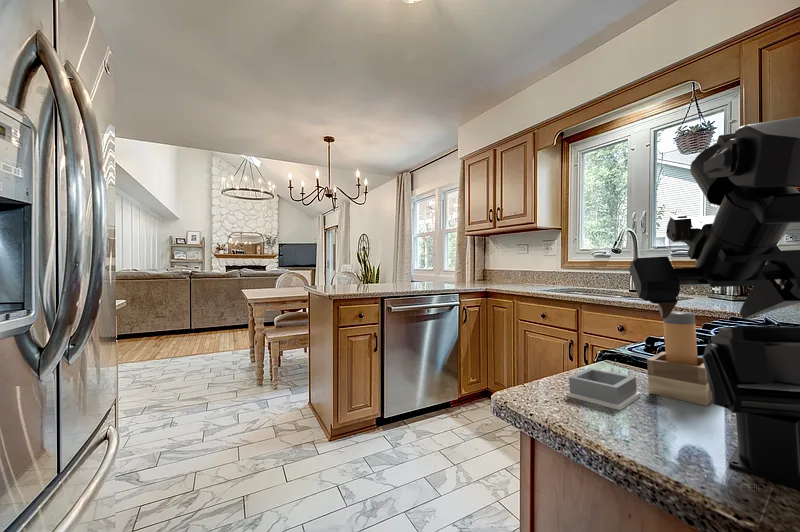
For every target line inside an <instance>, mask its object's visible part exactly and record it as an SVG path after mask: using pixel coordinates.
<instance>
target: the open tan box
mask: <svg viewBox="0 0 800 532" xmlns="http://www.w3.org/2000/svg"><path fill="white" fill-rule="evenodd" d="M702 357H703V356H698V355H697V358H698V366H695V365H688V364H681V363H675V362H668V361H666V354H665V351H661V352H659V353H656V354H655V355H653V356H651V357H649V358H647V359H646V363H647V366H646V367H647V378H648V382H647V383H648V393H649V394H651V395H655V396H660V397H661V396H662V397H666V398H669V399H675V400H678V401H683V402H688V403H692V404H698V405H701V406H702V405H703V406H709V404H710V403H711V402H713V398H712V392H711V391H710V387H709V382H708V377H707V372H706V369H705V366H704V363H703V359H702Z"/></svg>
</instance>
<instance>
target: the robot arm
mask: <svg viewBox="0 0 800 532" xmlns="http://www.w3.org/2000/svg"><path fill="white" fill-rule="evenodd" d="M689 170H690V171H689V172H690V174H691V176H692V177H693V179H694V180H695V183H696V185H698V187H699V189H700V190H701V192H702V193H703V195H704V196H705V198H706V200H707V201H708V203H709V204H713V205H716V206H719V208H718V210H717V212H716V214H715V215H702V216H691V217H688V216H687V215H686V214H685V215H684V214H683V215H673V216H670V218H669V220H668V222H667V225H666V231H665V234H666V237H667V238H668V239H670V241H672V242H673V243H680V242H681V243H684V244H685V245H687V246H688V247H689V248H688V250H687V255H688V257H689V259H690V260H695V261H696V262H695V265H694V267H677V268H674V267H673V264H672V263H671V261H670V258H669V256H667V255H666V256H647V257H635V258H633V259H632V261H631V262H630V264H629V265H630V266H629V270H628V271H629V274H630V276H631V279H632V282H633V285H634V287H635V291H636V293H637V297H638V298H639V299H640V300H643V301H645V302H649V303H650V304H655V305H656V304H657V307H658V311H659V315H660V318H661V319H662V320H663V319H666V318H667V317H668V316H669V315H670V313H671V312H672V311H673V310H674V308H675V307H676V305H678V299H677V297H678V296H679V294H680V292H681V287H708V286H709V287H711V288H723V287H724V288H725V287H731V288H732V287H752V288H751V291H750V292H749V293H748V295H747V297H746V298H745V300H744V302H743V304H742V306H741V308H740V310H739V315H740V316H741V318H742V319H744V320H745V319H746V320H747V319H750V318H753V317H756V316H760V315H764V314H765V313H768V312H772V311H776V310H778V309H779V310H780V309H782V308H786V307H789V306H794V305H798V304H800V249H787V250H786V249H785V250H781V249H780V248H779V246H778V244H779V242H780V240H782V237H783V236H784V234H785V232H786V230H787V229H788V228H789V226H790V224H794V223H796V224H797V223H800V191H799V190H798V189H797V188H800V116H795V117H789V118H788V117H787V118H783V119H777V120H768V121H764V122H763V121H762V122H757V123H749V124H744V125H741V126H739V127H738V128H737V129H736V130H735V132H733V133H726V134H720V135H718V137H717V140H716V143H715V144H713V145H710V146H709V147H707V148H705V149H704V150H703V151H701V152H699V154H698V155H697V156H696V157H695V158H694V160H692V161H691V163H690V169H689ZM717 331H718V333H716V334H714V335H713V336H712V337H711V338H710V342H711V343H707V344H706V345H705V347H704V353H703V355H702V356H701V357H702V359H703V363H704V366H705V369H706V372H707V377H708V382H709V387H710V391H711V392H712V398H713V400H712V404H714V405H715V406H718V407H721V408H724V409H728V410H729V411H730V412H731V413H733V414H735V415H736V417H735V418H736V433H737V435H736V436H737V446H736V447H735V449H734V451H733V452H732V454H731V456H730V458H729V459H728V466H729V467H730V468H732V469H734V470H737V471H741V472H744V473H747V474H749V475H753V476H755V477H759V478H763V479H766V480H769V481H772V482H775V483H778V484H781V485H785V486H788V487H791V488H793V489H798V490H800V394H791V393H779V392H765V391H764V392H762V391H752V390H751V391H750V390H749V391H748V390H740V388H743V389H756V390H771V391H785V392H786V391H787V392H799V393H800V326H754V325H753V326H747V325H746V326H745V325H744V326H742V325H741V326H733V327H717Z"/></svg>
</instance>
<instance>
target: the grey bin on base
mask: <svg viewBox="0 0 800 532" xmlns="http://www.w3.org/2000/svg"><path fill="white" fill-rule="evenodd" d="M568 383H569V385H568V386H569V387H568V388H569V390H568V391H566V392H565V394H566V395H565V396H566V397H569V398H572V399H577V400H581V401H585V402H588V403H592V404H595V405H599V406H602V407H605V408H606V407H607V408H609V409H614V410H617V411H622V410H624V409H625V408H626V407H627V406H629V405H630V404H632V403H633V402H634V401H636V400H637V399H639V398H641V396H642V395H641V392H640V391H637V378H636V376H633V375H632V376H631V375H627V374H622V373H617V372H611V371H607V370H601V369H597V368H590V367H588V368H586V369H584V370H582V371H580V372H578V373H575V374H573V375H569V377H568Z"/></svg>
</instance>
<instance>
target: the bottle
mask: <svg viewBox="0 0 800 532" xmlns="http://www.w3.org/2000/svg"><path fill="white" fill-rule="evenodd" d="M662 320H663V333H664V336H663V337H664V349H665V350H664V352H665V354H666V361H668V362H675V363H681V364H688V365H695V366H698V358H697V356H698V345H697V344H698V343H697V329H696V314H695V313H694V312H689V311H677V310H676V311H673V310H672V312H671V313H670V315H669V316H668V317H667V318H666V319H662Z"/></svg>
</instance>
